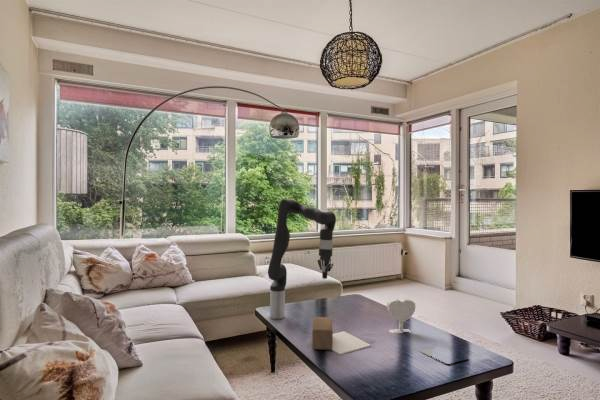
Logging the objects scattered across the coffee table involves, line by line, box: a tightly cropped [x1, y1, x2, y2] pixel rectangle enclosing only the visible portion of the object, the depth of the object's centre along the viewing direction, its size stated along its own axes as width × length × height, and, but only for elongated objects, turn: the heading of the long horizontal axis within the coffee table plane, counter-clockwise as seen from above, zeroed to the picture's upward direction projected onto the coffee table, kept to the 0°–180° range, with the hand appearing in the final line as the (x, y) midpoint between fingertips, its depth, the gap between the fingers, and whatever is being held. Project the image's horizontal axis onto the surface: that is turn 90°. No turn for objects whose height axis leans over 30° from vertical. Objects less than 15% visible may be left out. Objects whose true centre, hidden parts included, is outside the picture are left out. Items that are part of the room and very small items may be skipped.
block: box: [311, 316, 334, 351], centre depth 189 cm, size 10×10×20 cm
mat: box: [330, 330, 372, 356], centre depth 190 cm, size 22×20×1 cm
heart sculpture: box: [386, 298, 416, 334], centre depth 206 cm, size 16×5×18 cm, turn 96°
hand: (324, 278), depth 204 cm, fingers closed
